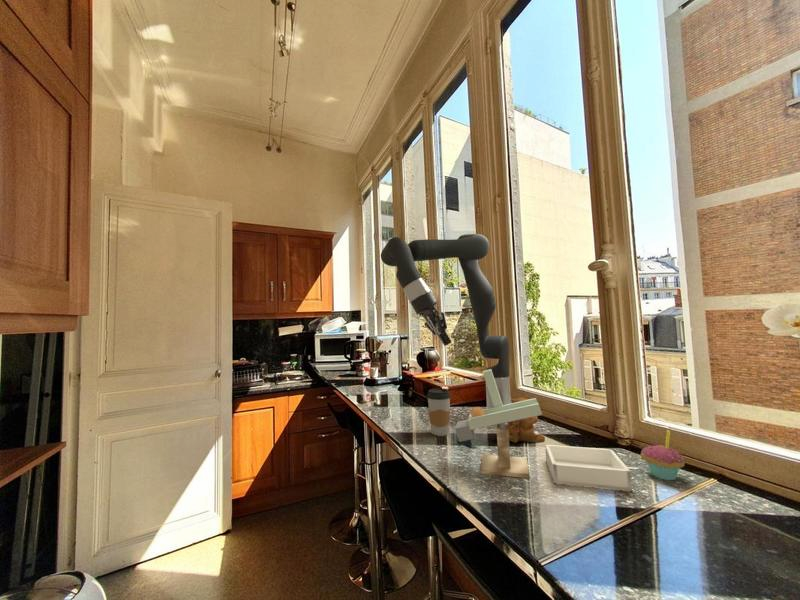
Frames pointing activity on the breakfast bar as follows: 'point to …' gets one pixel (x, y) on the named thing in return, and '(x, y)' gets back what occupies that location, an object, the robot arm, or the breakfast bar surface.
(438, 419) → the coffee cup
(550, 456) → the tub
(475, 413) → the ball
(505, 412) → the tilting chute
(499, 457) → the fulcrum stand
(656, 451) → the cupcake
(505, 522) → the breakfast bar surface
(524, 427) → the stuffed squirrel
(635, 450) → the breakfast bar surface
